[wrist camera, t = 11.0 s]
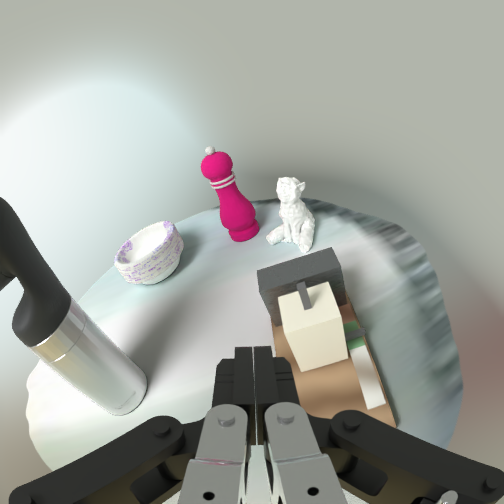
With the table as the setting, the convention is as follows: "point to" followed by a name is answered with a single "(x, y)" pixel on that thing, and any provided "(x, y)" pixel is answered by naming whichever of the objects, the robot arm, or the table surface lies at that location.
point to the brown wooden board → (339, 377)
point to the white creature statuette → (293, 216)
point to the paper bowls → (150, 254)
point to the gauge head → (314, 326)
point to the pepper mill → (229, 196)
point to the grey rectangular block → (300, 279)
